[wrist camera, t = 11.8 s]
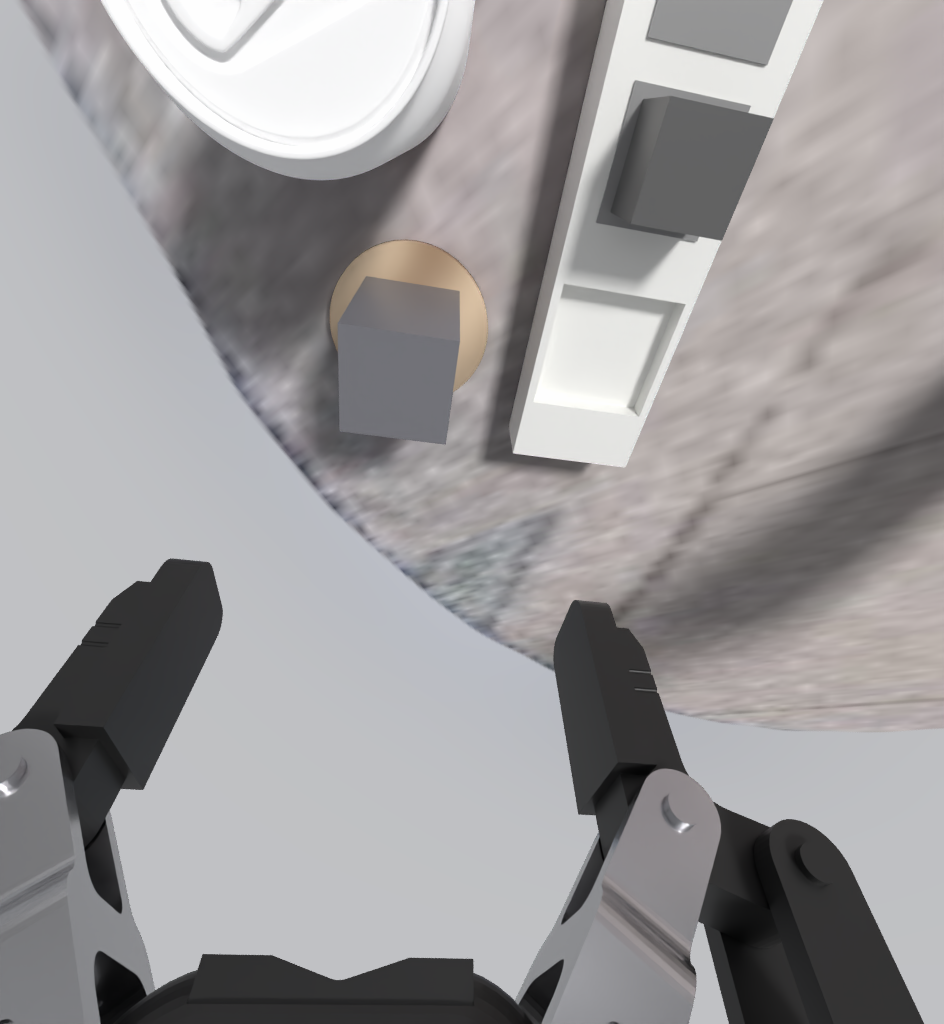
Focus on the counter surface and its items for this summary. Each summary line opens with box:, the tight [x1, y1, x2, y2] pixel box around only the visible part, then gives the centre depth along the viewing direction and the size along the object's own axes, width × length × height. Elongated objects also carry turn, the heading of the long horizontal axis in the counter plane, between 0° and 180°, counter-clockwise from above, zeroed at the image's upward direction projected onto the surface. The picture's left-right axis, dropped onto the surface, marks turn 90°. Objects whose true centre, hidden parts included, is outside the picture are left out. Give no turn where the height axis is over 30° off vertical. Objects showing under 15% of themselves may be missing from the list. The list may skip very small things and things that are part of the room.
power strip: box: [509, 0, 824, 467], centre depth 19 cm, size 6×26×6 cm, turn 171°
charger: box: [338, 276, 460, 445], centre depth 22 cm, size 4×5×7 cm
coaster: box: [330, 240, 488, 392], centre depth 25 cm, size 8×8×1 cm
